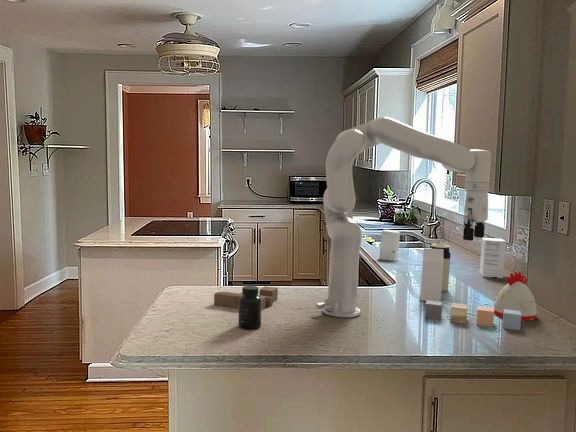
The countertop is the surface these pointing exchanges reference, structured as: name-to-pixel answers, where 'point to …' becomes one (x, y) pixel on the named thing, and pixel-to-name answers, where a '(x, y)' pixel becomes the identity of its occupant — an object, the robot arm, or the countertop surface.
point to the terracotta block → (485, 316)
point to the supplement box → (492, 257)
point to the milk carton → (432, 275)
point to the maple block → (458, 313)
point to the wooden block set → (232, 299)
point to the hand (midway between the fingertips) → (473, 238)
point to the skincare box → (389, 245)
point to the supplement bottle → (250, 308)
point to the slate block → (511, 319)
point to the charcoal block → (433, 310)
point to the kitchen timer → (516, 298)
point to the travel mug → (444, 264)
